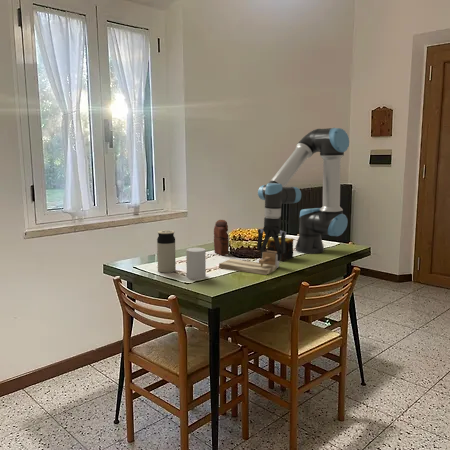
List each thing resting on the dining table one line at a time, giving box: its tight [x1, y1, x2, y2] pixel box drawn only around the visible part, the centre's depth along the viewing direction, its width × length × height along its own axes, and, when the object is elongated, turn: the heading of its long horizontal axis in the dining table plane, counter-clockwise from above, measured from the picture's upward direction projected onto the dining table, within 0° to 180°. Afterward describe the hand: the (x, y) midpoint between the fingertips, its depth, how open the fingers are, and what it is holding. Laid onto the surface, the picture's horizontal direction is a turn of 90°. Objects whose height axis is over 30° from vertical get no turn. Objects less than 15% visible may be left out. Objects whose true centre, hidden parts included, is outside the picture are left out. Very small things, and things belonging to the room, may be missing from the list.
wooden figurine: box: [213, 219, 230, 257], centre depth 239 cm, size 12×6×18 cm, turn 25°
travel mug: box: [156, 229, 177, 274], centre depth 204 cm, size 8×8×18 cm
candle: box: [266, 236, 294, 262], centre depth 229 cm, size 10×10×10 cm
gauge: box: [258, 250, 277, 267], centre depth 208 cm, size 14×6×7 cm, turn 150°
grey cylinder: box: [185, 247, 207, 281], centre depth 194 cm, size 8×8×12 cm
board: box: [218, 258, 277, 276], centre depth 209 cm, size 11×24×2 cm, turn 61°
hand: (270, 266), depth 212 cm, fingers closed on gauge, 6 cm apart
